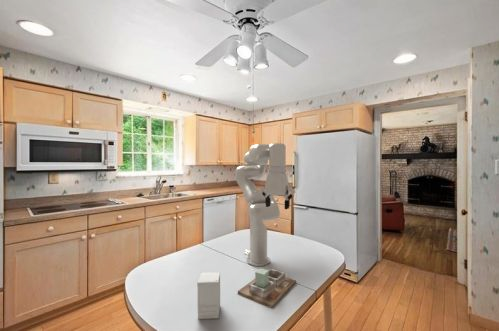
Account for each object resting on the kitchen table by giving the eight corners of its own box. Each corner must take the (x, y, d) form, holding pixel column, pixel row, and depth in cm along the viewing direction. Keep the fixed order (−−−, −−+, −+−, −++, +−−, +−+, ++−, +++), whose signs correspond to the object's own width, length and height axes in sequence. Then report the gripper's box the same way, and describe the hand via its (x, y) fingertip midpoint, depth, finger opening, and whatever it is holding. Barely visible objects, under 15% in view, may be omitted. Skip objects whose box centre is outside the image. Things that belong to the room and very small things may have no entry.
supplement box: (220, 305, 84) (220, 271, 84) (218, 319, 76) (218, 282, 76) (200, 305, 84) (201, 272, 84) (196, 319, 76) (197, 282, 76)
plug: (255, 291, 91) (255, 272, 91) (260, 287, 95) (260, 268, 95) (263, 294, 89) (264, 274, 89) (268, 290, 93) (268, 270, 93)
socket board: (237, 293, 92) (237, 283, 92) (265, 272, 110) (265, 264, 110) (271, 308, 82) (271, 297, 82) (296, 282, 100) (296, 273, 100)
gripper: (257, 170, 105) (256, 206, 105) (291, 170, 95) (291, 211, 94) (265, 170, 111) (265, 204, 111) (298, 170, 101) (298, 208, 101)
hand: (277, 207), depth 103 cm, fingers open, 9 cm apart
